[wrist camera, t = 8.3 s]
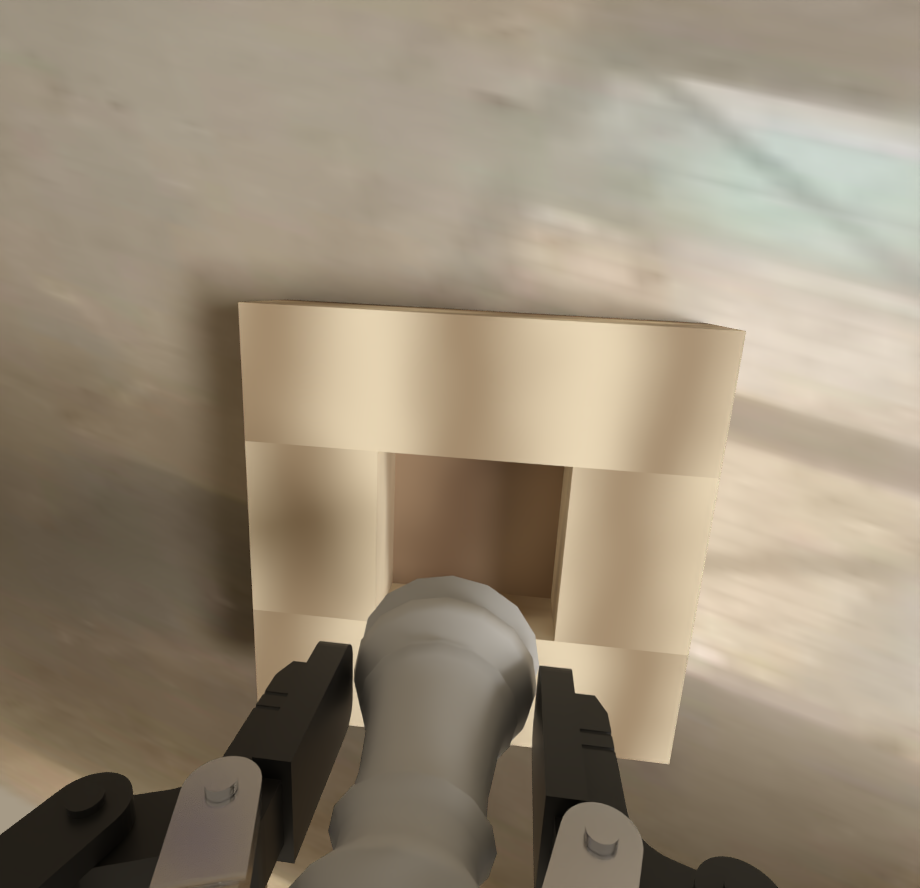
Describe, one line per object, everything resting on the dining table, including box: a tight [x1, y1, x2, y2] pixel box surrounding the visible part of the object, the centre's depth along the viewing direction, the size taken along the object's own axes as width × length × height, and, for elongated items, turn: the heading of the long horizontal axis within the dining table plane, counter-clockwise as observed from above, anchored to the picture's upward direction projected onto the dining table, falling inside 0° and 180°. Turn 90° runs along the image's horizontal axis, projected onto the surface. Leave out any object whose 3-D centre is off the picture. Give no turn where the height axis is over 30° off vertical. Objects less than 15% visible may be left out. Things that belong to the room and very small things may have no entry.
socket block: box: [238, 300, 746, 764], centre depth 22 cm, size 16×16×4 cm
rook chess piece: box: [289, 576, 539, 888], centre depth 11 cm, size 4×4×8 cm
